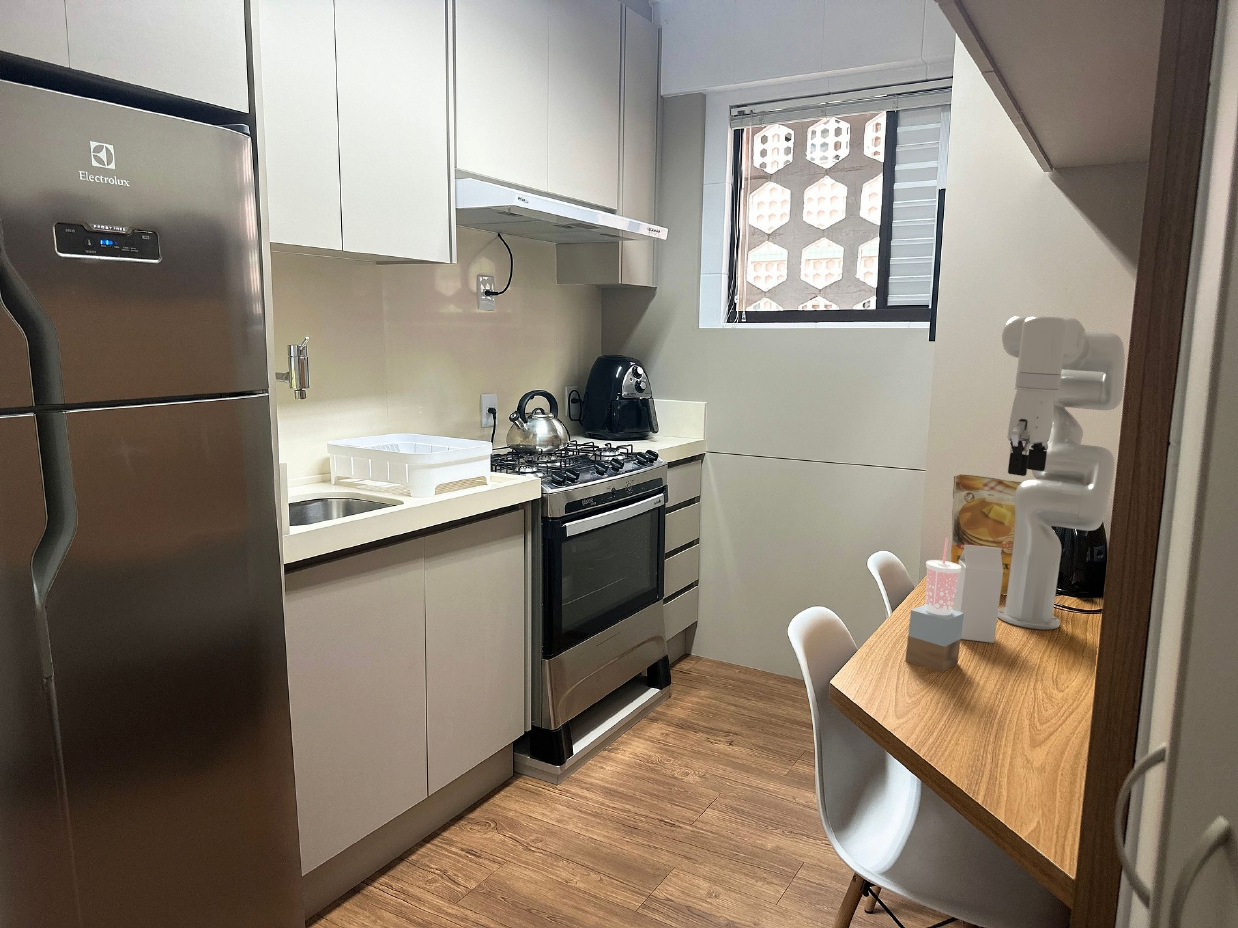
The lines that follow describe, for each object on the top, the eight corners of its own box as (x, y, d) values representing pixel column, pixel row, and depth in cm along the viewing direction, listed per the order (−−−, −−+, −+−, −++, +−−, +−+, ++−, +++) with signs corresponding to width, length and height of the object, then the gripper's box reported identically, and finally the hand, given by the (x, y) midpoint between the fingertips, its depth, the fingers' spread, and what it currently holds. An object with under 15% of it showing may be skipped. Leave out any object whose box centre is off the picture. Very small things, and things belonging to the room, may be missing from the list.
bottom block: (921, 652, 162) (924, 628, 161) (957, 663, 157) (960, 638, 156) (905, 661, 157) (908, 635, 156) (941, 672, 152) (944, 646, 151)
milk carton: (994, 643, 169) (1005, 552, 167) (957, 639, 171) (968, 548, 168) (986, 632, 176) (997, 544, 173) (950, 628, 178) (961, 540, 175)
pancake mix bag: (944, 578, 218) (957, 472, 214) (1024, 593, 208) (1039, 482, 204) (938, 583, 213) (951, 474, 209) (1019, 599, 202) (1034, 485, 198)
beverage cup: (961, 612, 156) (970, 539, 153) (947, 618, 151) (956, 543, 149) (929, 603, 160) (938, 532, 158) (914, 609, 156) (923, 536, 153)
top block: (924, 628, 161) (927, 603, 160) (960, 638, 156) (964, 612, 155) (908, 635, 156) (911, 609, 155) (944, 646, 151) (948, 620, 150)
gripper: (1033, 381, 166) (1022, 465, 169) (999, 382, 154) (988, 473, 157) (1074, 384, 161) (1062, 471, 164) (1042, 385, 149) (1030, 480, 152)
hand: (1026, 472), depth 160 cm, fingers open, 9 cm apart
